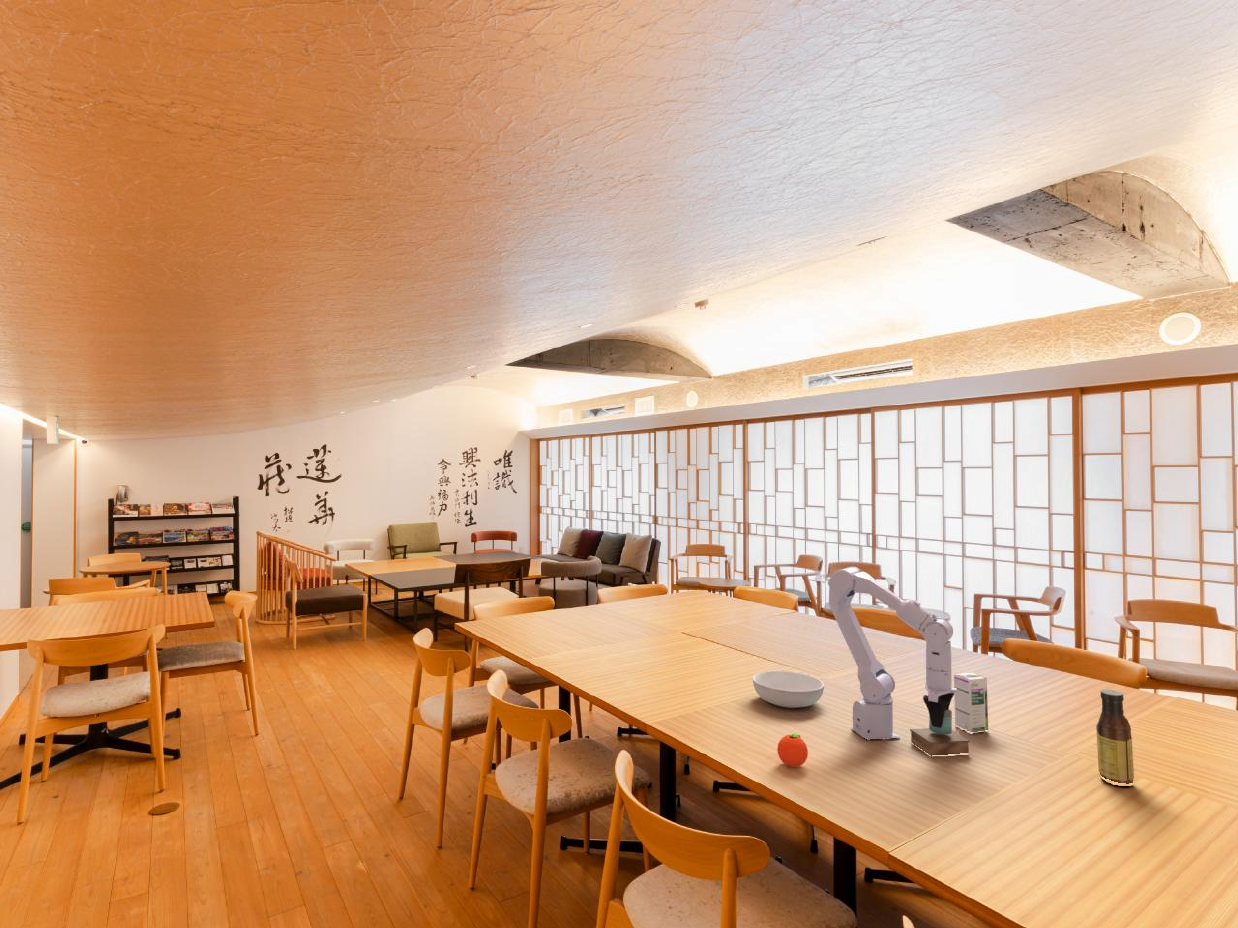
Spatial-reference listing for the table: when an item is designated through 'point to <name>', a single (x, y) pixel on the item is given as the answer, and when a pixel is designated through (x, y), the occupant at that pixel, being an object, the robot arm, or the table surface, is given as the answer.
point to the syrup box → (971, 702)
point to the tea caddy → (946, 725)
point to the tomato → (792, 750)
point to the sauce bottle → (1114, 740)
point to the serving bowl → (788, 688)
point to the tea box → (939, 742)
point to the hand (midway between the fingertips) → (939, 723)
